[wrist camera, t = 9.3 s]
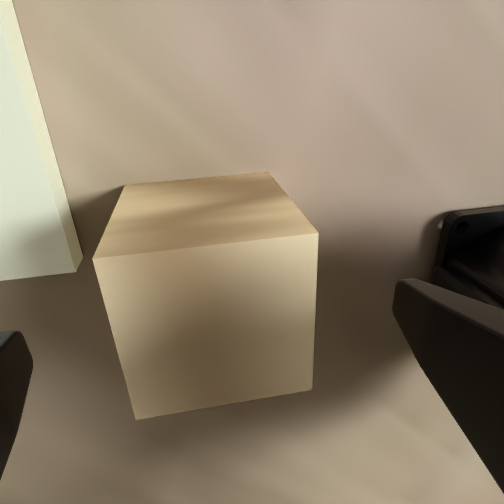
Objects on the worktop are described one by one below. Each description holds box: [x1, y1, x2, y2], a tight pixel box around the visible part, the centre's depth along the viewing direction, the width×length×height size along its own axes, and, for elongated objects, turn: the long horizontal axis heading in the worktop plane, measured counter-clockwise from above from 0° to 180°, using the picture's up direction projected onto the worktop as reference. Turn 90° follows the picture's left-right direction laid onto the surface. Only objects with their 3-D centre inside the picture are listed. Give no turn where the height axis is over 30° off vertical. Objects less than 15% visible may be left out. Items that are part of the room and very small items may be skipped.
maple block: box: [92, 172, 319, 420], centre depth 11 cm, size 4×4×5 cm
